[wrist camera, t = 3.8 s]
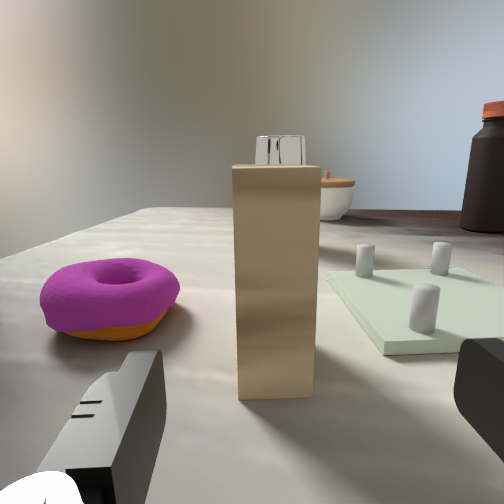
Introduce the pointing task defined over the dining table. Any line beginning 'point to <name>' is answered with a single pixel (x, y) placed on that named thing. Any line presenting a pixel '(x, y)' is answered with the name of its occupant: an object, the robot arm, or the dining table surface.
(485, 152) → the bottle
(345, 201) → the lidded jar
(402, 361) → the dining table surface
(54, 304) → the donut
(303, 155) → the shiny metal tumbler
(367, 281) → the peg stand
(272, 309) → the oak block
